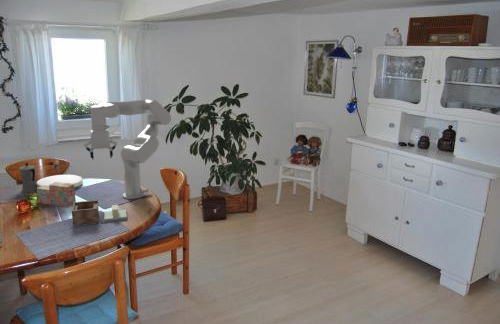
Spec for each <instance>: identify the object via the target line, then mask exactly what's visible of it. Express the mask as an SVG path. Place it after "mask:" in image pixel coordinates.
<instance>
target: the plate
mask: <svg viewBox="0 0 500 324" xmlns="http://www.w3.org/2000/svg"><path fill="white" fill-rule="evenodd" d="M83 181H84V180H83V177H82V176H79V175H76V174H56V175H50V176H46V177H43V178H41V179H39V180H37V181H36V185H37V188H39V187H41V186H43V185H47V186H49V185H50V184H52V183H55V182H62V183H69V184H74V188H76V187H79V186H81V185H82V184H83V183H84V182H83Z"/></svg>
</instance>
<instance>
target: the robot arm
mask: <svg viewBox="0 0 500 324" xmlns="http://www.w3.org/2000/svg"><path fill="white" fill-rule="evenodd" d="M89 109H90V110H89V111H90V120H91V130H90V141H88V142H86V143H84V145H83V147H84V148H85V149H86V151H88V152H89V153H90V155H89V156H90V158H91V159H92V160H94V151H93V150H98V149H99V150H100V149H101V150H102V149H108V150H109V155H110V156H109V157H110V159H112V158H113V157H114V154H113V151H114V150H115V148H117V145H118V142H116V141H114V140H111V138H110V132H109V128H110V125H108V124H107V119H114V118H118V117H119V116H120V115H121V116H136V115H142V114H143V115H144V114H147V115H146V120H147V121H146V127H145V128H144V129H143V130H141V132H140V133H139V134H138V135H137V136H136V137H135V139H134V141H133V145H130V144H129V145H125V146H123V147H122V148H121V150H120V157H121V161H122V167H123V168H122V169H123V177H124V178H123V179H124V193H123V194H122V197H123V198H124V199H128V200H134V199H135V200H136V199H140V198H142V197H144V195H145V193H149V192H150V191H149V188H142V184H141V182H142V180H141V169H140V168H141V166H140V164H141V165H142V164H144V163H146V162H147V161H148V160H149V159H150V158H151V157H152V155H154V154H155V152H157V150H158V148H159V146H160V142H159V141H160V140H159V138H157V137H158V135H159V126H167V125H169V124H170V123H171V122H172V116H171V114H170V112H169V111H168V110H167V109H166V108H165V107H164V106H163V105H162V104H161V103H160V102H159V101H157V100H155V99H148V98H145V99H134V100H133V99H132V100H123V101H108V102H101V103H99V104H98V105H97V104H96V105H91V106H90V108H89ZM111 144H113V146H111ZM89 145H90V147H91V148H90V147H89Z"/></svg>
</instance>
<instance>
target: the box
mask: <svg viewBox="0 0 500 324" xmlns="http://www.w3.org/2000/svg"><path fill="white" fill-rule="evenodd" d="M71 217H72V227H76V226H75V225H79V226H84V225H83V224H88V225H94V224H93V223H97V224H99V220H98V219H100V212H99V200H98V199H96V200H95V199H94V200H85V201H76V202H74V204H73V205H72V208H71Z"/></svg>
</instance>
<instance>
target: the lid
mask: <svg viewBox="0 0 500 324" xmlns="http://www.w3.org/2000/svg"><path fill="white" fill-rule="evenodd" d="M104 212H105V216H104V220H105V221H108V220H117V219H126V218H127V219H128V215H126V212H127V209H120V210H119V205H118V204H112V205H111V210H108V211H104Z"/></svg>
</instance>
